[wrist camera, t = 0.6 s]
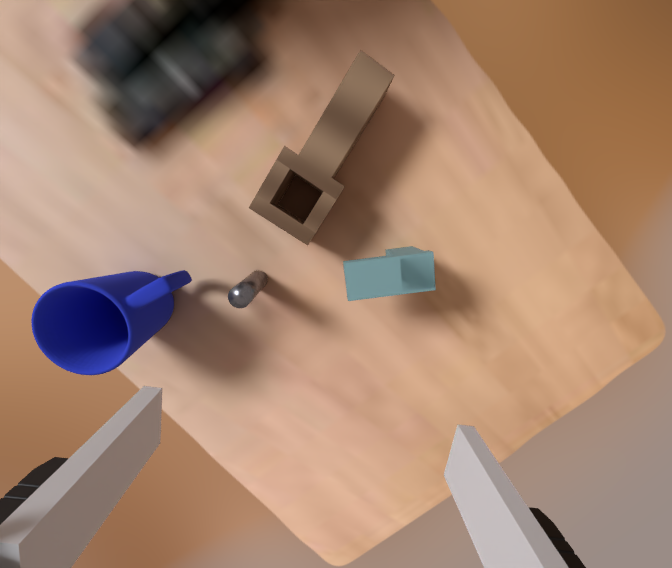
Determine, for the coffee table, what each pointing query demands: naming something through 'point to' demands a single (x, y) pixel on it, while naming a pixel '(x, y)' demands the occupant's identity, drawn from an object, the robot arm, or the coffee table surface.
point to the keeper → (390, 274)
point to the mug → (103, 318)
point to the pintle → (247, 289)
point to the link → (325, 149)
